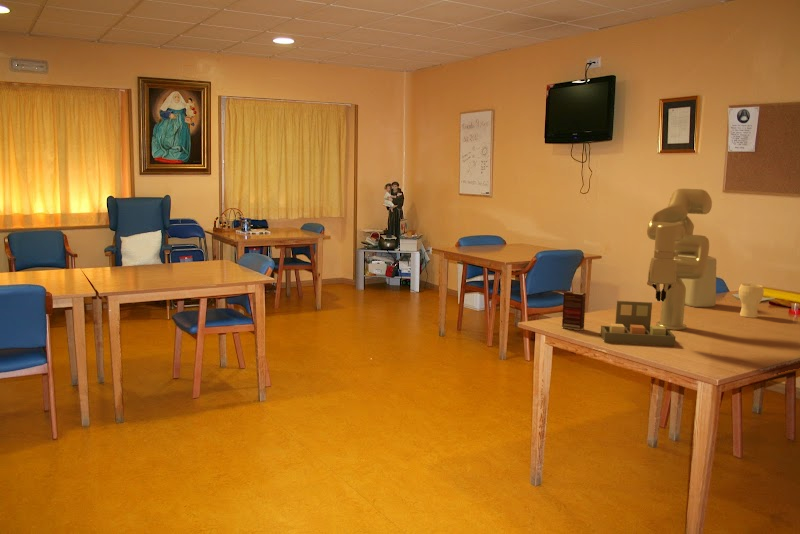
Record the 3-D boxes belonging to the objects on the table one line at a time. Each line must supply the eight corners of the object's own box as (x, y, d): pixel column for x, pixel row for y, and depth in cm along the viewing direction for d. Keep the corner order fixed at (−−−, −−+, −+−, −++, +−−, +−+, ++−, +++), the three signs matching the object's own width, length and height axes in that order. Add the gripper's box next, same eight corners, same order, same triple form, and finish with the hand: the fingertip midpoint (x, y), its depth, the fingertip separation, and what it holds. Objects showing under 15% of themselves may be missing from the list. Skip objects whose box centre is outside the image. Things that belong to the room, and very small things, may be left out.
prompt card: (614, 333, 295) (616, 300, 293) (648, 335, 293) (651, 302, 291) (615, 333, 294) (617, 301, 292) (649, 335, 292) (652, 303, 290)
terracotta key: (629, 332, 286) (630, 324, 285) (642, 333, 285) (642, 325, 285) (631, 335, 281) (632, 327, 280) (644, 336, 280) (645, 328, 280)
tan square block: (609, 331, 287) (610, 323, 286) (622, 332, 286) (622, 324, 286) (611, 334, 282) (611, 326, 282) (624, 335, 281) (624, 326, 281)
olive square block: (649, 333, 285) (650, 325, 284) (662, 334, 284) (663, 326, 283) (652, 336, 280) (653, 328, 279) (665, 337, 279) (666, 329, 279)
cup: (766, 317, 332) (769, 286, 330) (749, 319, 328) (752, 287, 326) (747, 313, 342) (750, 282, 339) (731, 314, 338) (734, 283, 336)
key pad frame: (600, 335, 291) (601, 325, 291) (667, 338, 287) (668, 329, 287) (604, 342, 279) (605, 332, 279) (674, 346, 276) (675, 336, 275)
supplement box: (584, 328, 301) (586, 292, 299) (580, 331, 297) (583, 294, 295) (564, 326, 306) (566, 290, 303) (561, 328, 302) (563, 292, 299)
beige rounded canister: (719, 307, 355) (724, 252, 350) (693, 307, 351) (697, 252, 347) (699, 301, 369) (704, 248, 365) (674, 301, 366) (679, 249, 361)
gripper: (681, 254, 279) (678, 299, 282) (642, 253, 282) (638, 297, 284) (686, 257, 272) (682, 303, 275) (645, 255, 274) (642, 301, 277)
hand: (660, 300), depth 280 cm, fingers closed
